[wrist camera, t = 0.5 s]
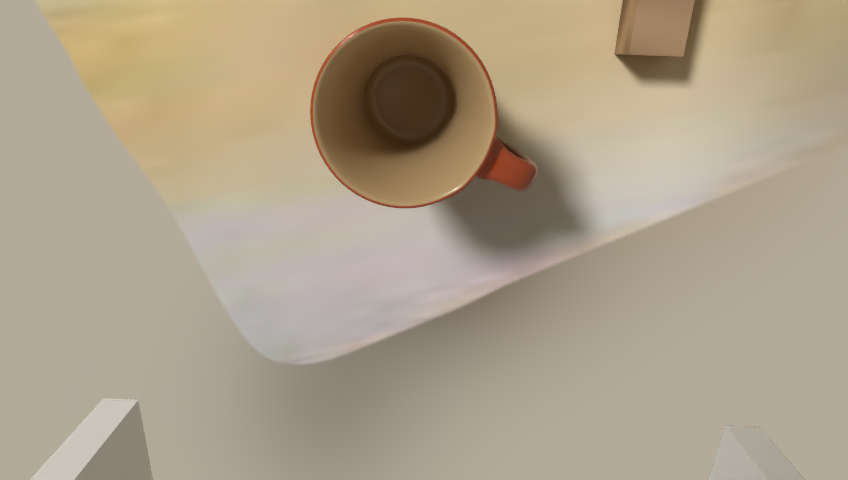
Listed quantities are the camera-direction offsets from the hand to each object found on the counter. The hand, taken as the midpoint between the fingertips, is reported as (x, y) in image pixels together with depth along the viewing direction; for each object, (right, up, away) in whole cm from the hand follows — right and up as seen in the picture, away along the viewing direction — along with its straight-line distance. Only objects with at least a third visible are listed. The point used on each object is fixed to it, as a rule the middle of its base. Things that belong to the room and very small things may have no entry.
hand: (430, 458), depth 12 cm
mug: (0, +14, +22) cm, 26 cm away
